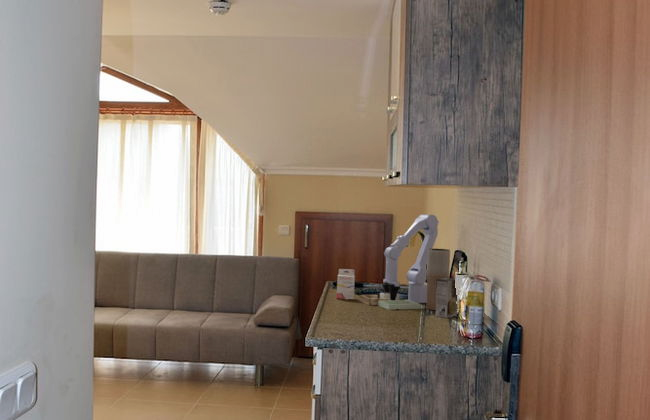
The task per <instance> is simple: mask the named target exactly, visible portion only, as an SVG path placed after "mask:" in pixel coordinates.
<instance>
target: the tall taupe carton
mask: <svg viewBox="0 0 650 420" xmlns="http://www.w3.org/2000/svg"><path fill="white" fill-rule="evenodd" d="M450 258H451V249H447V248H432V249H428V262H427V274H426V285H427V301H426V303H425V304H426V305H425V306H426V310H429V311H436V285H437V279H443V278H450V265H451V264H450V263H451V259H450Z"/></svg>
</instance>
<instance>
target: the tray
mask: <svg viewBox="0 0 650 420" xmlns="http://www.w3.org/2000/svg"><path fill="white" fill-rule="evenodd" d="M377 306H378V307H381V308H383V309H385V310H389V311H390V310H394V311H395V310H396V309H399V310H421V309H422V308H421V303H416V302H413V301H410V300H408V299H404V300H403V299H402V300H401V299H399V300H393V301H378V305H377Z"/></svg>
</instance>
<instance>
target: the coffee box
mask: <svg viewBox="0 0 650 420" xmlns="http://www.w3.org/2000/svg"><path fill="white" fill-rule="evenodd" d="M455 279H456V278H451V277H449V278H443V279H437V285H436V310H435V313H434V314H435V317H439V318H440V317H441V318H446V319H449V318H453V316H455V317H457V316H456V314H457V304H456V301H457V295H456V288H455Z"/></svg>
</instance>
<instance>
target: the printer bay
mask: <svg viewBox="0 0 650 420" xmlns="http://www.w3.org/2000/svg"><path fill="white" fill-rule="evenodd" d="M378 301H388V299H387V298H380V297H379V295H378V294H359V295H358V302H360V303H363V304H366V305H368V306H378Z"/></svg>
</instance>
